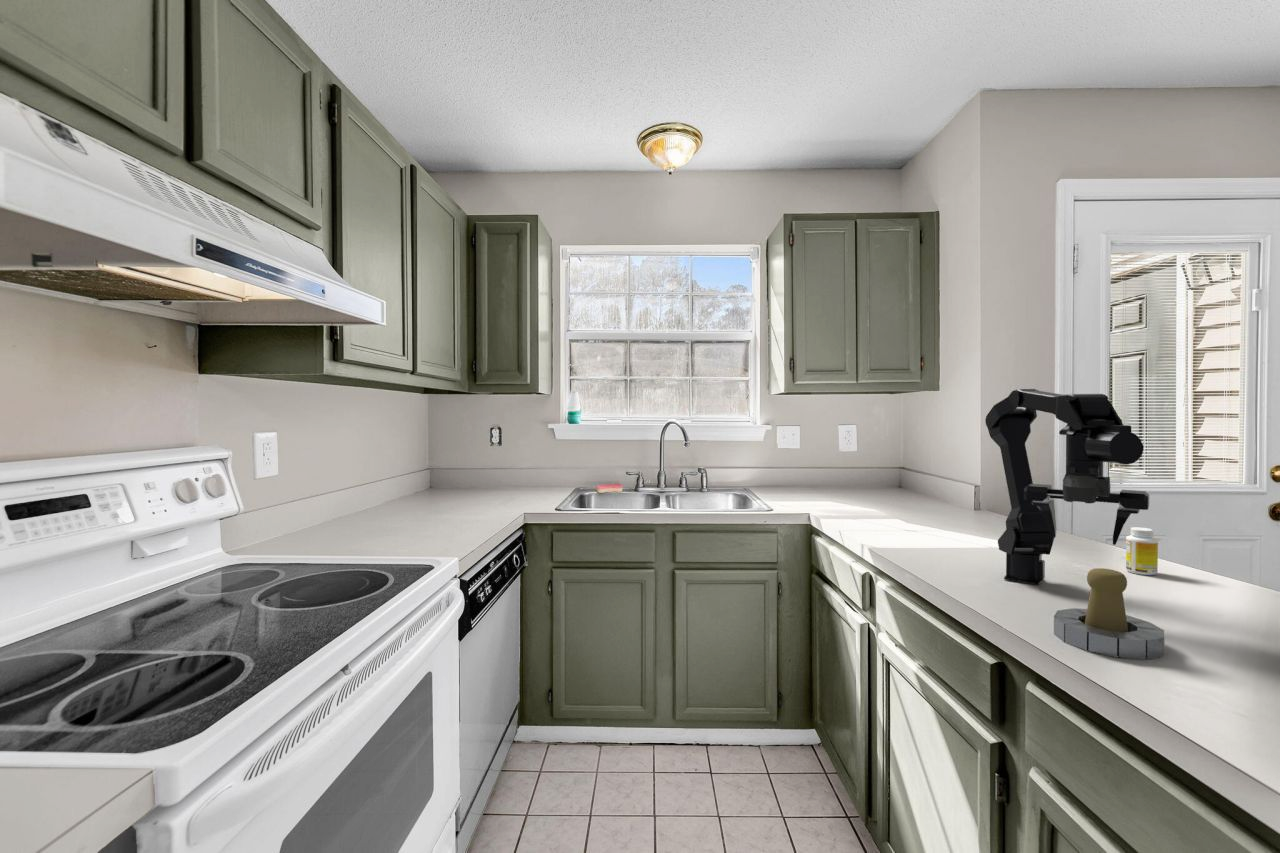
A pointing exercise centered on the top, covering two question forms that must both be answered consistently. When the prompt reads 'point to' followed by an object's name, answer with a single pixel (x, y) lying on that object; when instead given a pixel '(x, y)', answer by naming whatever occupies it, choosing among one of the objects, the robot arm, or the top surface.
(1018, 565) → the robot arm
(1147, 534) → the supplement bottle
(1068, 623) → the ring
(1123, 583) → the cork
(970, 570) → the top surface
